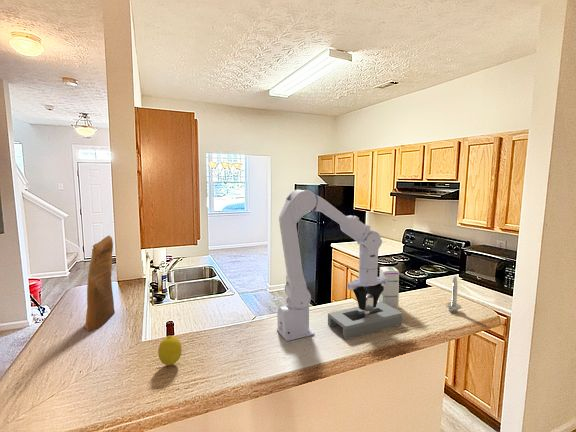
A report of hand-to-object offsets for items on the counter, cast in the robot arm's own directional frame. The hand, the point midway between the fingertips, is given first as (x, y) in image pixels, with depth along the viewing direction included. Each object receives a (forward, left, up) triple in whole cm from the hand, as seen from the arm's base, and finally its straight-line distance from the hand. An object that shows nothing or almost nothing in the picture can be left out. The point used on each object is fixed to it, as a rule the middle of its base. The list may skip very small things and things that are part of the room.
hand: (367, 307), depth 99 cm
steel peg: (0, 0, -5) cm, 5 cm away
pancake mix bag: (-79, +40, -6) cm, 89 cm away
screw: (+34, -5, -6) cm, 35 cm away
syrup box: (+16, +8, -6) cm, 19 cm away
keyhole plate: (-1, 0, -6) cm, 6 cm away
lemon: (-60, +3, -6) cm, 60 cm away
